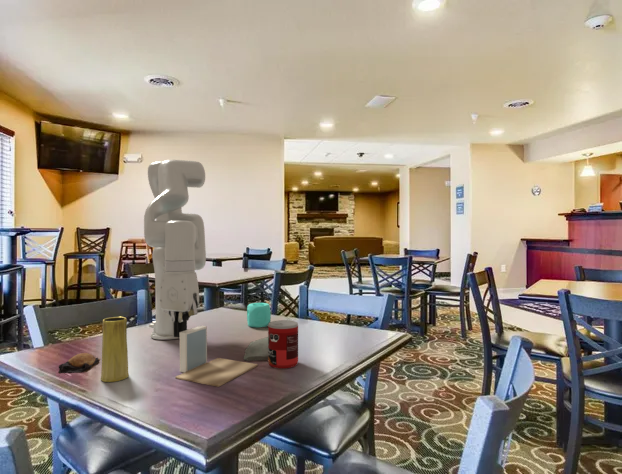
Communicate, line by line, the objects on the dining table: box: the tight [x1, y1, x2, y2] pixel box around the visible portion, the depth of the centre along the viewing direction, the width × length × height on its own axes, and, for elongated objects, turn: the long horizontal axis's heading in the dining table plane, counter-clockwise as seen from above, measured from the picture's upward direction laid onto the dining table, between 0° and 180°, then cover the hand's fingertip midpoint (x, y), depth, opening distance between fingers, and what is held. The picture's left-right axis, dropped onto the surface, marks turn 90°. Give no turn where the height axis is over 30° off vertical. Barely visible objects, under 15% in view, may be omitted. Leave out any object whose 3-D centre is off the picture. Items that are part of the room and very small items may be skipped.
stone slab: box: [243, 336, 268, 362], centre depth 120 cm, size 22×3×10 cm
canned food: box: [267, 319, 299, 369], centre depth 105 cm, size 8×8×11 cm
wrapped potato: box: [58, 352, 101, 374], centre depth 104 cm, size 11×8×4 cm
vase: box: [100, 316, 130, 383], centre depth 96 cm, size 6×6×14 cm
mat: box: [175, 357, 258, 387], centre depth 100 cm, size 13×16×1 cm
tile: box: [179, 325, 208, 373], centre depth 103 cm, size 2×8×10 cm, turn 155°
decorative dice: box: [246, 302, 272, 329], centre depth 151 cm, size 8×8×8 cm
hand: (180, 336), depth 105 cm, fingers closed
